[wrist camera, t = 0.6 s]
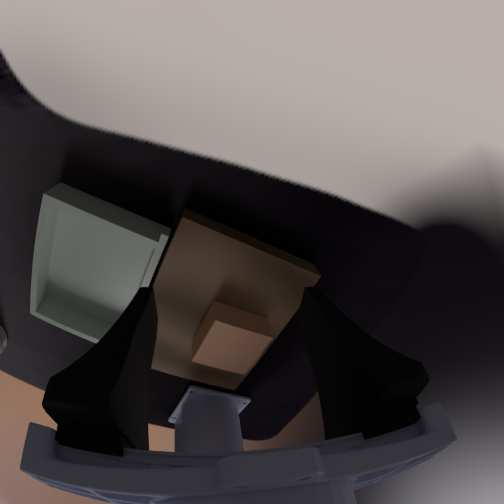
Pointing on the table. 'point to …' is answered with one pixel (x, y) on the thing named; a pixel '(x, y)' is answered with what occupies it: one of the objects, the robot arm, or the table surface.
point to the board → (220, 290)
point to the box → (90, 261)
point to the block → (230, 338)
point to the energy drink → (2, 339)
